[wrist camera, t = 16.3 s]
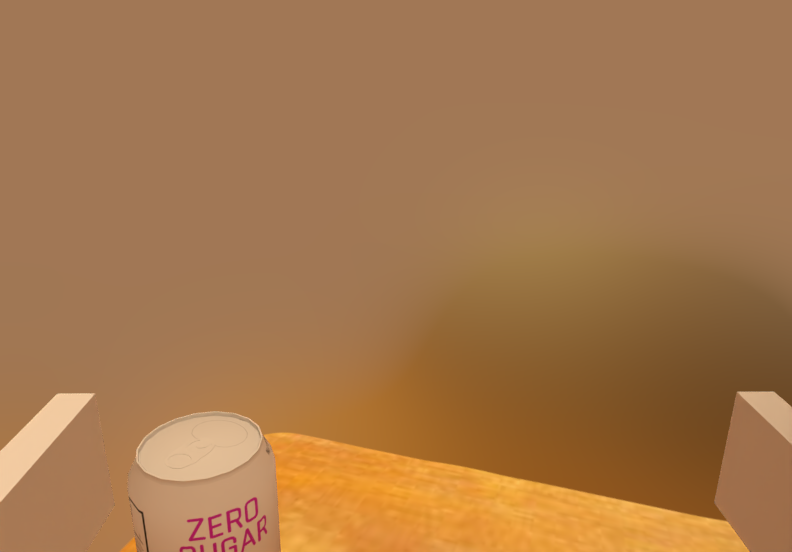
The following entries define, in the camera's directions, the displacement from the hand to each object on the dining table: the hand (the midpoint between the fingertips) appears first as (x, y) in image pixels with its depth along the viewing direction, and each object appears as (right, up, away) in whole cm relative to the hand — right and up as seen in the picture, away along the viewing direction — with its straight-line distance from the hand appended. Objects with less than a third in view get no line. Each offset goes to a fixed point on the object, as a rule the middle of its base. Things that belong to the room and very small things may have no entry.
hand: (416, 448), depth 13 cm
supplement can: (-12, -20, +28) cm, 37 cm away
